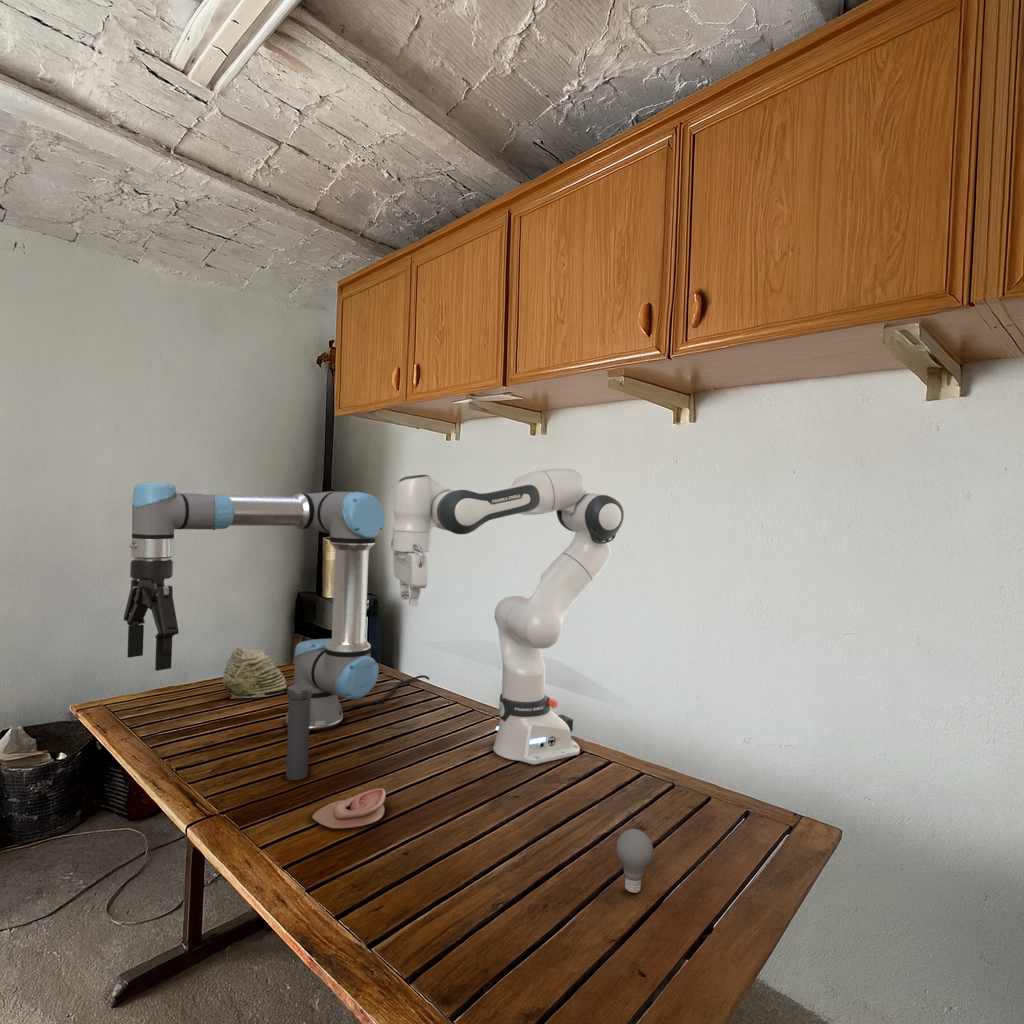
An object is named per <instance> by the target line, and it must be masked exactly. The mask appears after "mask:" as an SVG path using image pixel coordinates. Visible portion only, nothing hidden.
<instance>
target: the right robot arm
mask: <svg viewBox="0 0 1024 1024" xmlns="http://www.w3.org/2000/svg"><path fill="white" fill-rule="evenodd" d="M554 512H556V517H557V520H558V522H559V523H560V525H561V526H562V527H563V528H564V529H566V530H568V531H570V532H573V533H574V536H573V539H572V541H571V542H570V544H569V546H567V547H566V548H565V550H563V551H562V552H561V553H560V554H559V555H558V556H557V557H556V558H555V559H554V561H553V562H551V564H550V565H549V566H547V568H546V569H545V570H544V571H543V572H542V573H541V575H540V581H539V583H538V585H537V587H536V589H535V591H534V592H533V594H532V595H531V596H530V597H529V598H528V597H525V596H522V595H512V596H507V597H504V598H503V599H501V600H500V601H499V602H498V603H497V605H496V606H495V609H494V620H495V623H496V627H497V630H498V636H499V637H498V638H499V639H498V640H499V645H500V652H501V653H500V654H501V661H502V677H501V678H502V679H501V693H500V694H499V703H498V716H499V721H498V726H496V727H495V731H496V737H495V740H494V743H493V746H492V750H493V752H494V753H495V755H498V756H500V757H501V758H504V759H507V760H511V761H516V762H517V761H519V762H523V763H526V764H529V765H538V764H544V763H547V762H551V761H557V760H561V759H565V758H570V757H574V756H579V755H580V753H581V748H580V745H579V744H578V743H577V742H576V741H575V740H574V739H573V738H572V733H571V732H573V731H574V730H573V729H574V719H573V718H571V717H568V716H566V715H564V714H557V713H555V712H554V711H553V710H551V708H552V709H556V708H557V707H558V705H559V703H558V701H557V700H555V699H554V698H551V697H550V696H548V695H546V694H545V691H546V671H547V670H546V664H545V661H544V658H543V655H542V650H541V649H548V648H549V649H550V648H551V647H552V646H554V645H555V644H556V643H557V642H558V641H559V639H560V638H561V635H562V631H563V622H564V620H565V618H566V616H567V615H568V612H569V610H570V609H571V607H572V605H574V603H575V601H577V599H578V598H579V597H580V596H581V595H582V594H583V593H584V592H585V590H586V589H587V588H588V587H589V586H590V585H591V584H592V583H593V581H595V579H596V578H597V577H598V576H599V574H600V573H601V572H602V570H603V569H604V568H605V566H606V565H607V563H608V561H609V559H610V558H611V555H612V549H611V546H610V544H609V543H610V542H612V541H613V540H614V539H615V538H616V536H617V533H618V532H619V530H621V527H622V526H623V522H624V518H625V512H624V508H623V505H622V504H621V503H620V501H619V500H617V499H616V498H614V497H612V496H610V495H607V494H599V493H593V492H587V491H586V488H585V482H584V479H583V478H582V475H581V474H580V472H578V471H577V470H575V469H572V468H548V469H541V470H537V471H532V472H528V473H526V474H525V473H524V474H523V475H520V476H518V477H516V478H515V479H514V481H513V483H512V484H511V487H508V488H505V489H500V490H494V491H489V492H485V493H479V492H475V491H472V490H468V489H456V490H452V489H450V488H447V487H445V486H444V485H442V484H440V483H438V482H437V481H435V480H434V479H433V478H431V475H428V474H416V475H409V476H404V477H402V478H400V479H399V480H398V481H397V483H396V487H395V491H394V500H393V515H394V523H393V528H392V539H391V542H390V547H391V550H392V551H393V552H392V554H393V555H392V556H393V560H392V561H393V573H394V574H393V575H394V577H395V578H396V579H397V580H399V588H400V599H402V600H408V601H409V602H408V604H409V606H410V607H418V605H419V598H420V595H421V589H426V588H427V585H428V557H427V555H426V553H429V552H431V539H432V537H431V536H432V529H433V528H436V529H437V528H438V529H440V530H443V531H447V532H451V533H453V534H455V535H467V534H470V533H473V532H474V531H476V530H477V529H479V528H480V527H481V526H482V525H484V524H485V523H487V522H489V521H491V520H495V519H499V518H504V517H508V516H509V517H510V516H513V515H519V514H520V515H523V516H536V515H544V514H549V513H554Z"/></svg>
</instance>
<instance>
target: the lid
mask: <svg viewBox="0 0 1024 1024" xmlns="http://www.w3.org/2000/svg"><path fill="white" fill-rule="evenodd" d="M286 692H287V693H286V698H288V700H289V699H293V700H303V699H307V698H310V697H311V696H312V686H311V685H309V684H295V685H294V684H292V685H289V686H287V690H286Z"/></svg>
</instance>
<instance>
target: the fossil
mask: <svg viewBox="0 0 1024 1024" xmlns="http://www.w3.org/2000/svg"><path fill="white" fill-rule="evenodd" d="M222 676H223V677H222V685H223V687H224V688H225V690H226V691H228V693H229V698H230V699H250V698H264V697H271V696H275V695H281V694H284V693H285V691H287V690H286V689H287V688H288V686H287V680H286V678H285V676H284V674H283V673H282V672H281V669H279V668H278V667H277V665H276V663H275V662H274V660H273V659H272V658H271V657H270V656H269V655H268V654H267V653H266V652H265V650H264V649H263V648H260V647H258V648H251V647H247V646H246V647H245V646H238V647H237V648H236V649H235V650H233V651H232V653H231V656H230V657H229V659H228V660H227V663H226V666H225V668H224V671H223V675H222Z"/></svg>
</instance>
